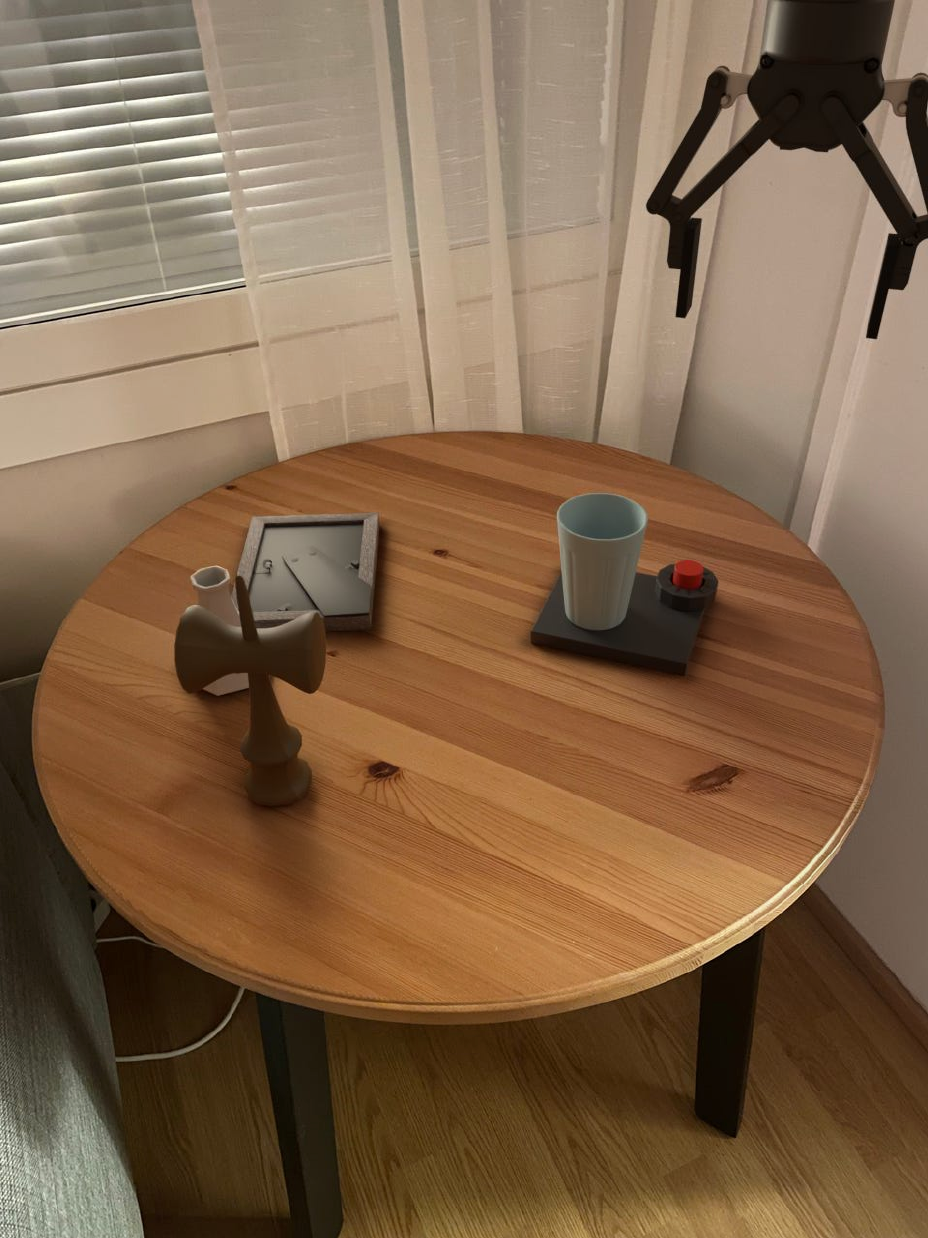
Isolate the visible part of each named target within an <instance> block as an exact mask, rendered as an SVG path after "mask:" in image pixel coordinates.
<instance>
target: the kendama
mask: <svg viewBox="0 0 928 1238" xmlns="http://www.w3.org/2000/svg"><path fill="white" fill-rule="evenodd" d="M234 583H235V588H236V596H237V603H238V610H239V616H240V622H241V627H235V626H232V625H230V624H228V623H226V622H224V621H223V620H221V619H220V618H218V617H217V616H215V615H214V614H212V613H211V612H209V611H208V610H206V609H205V608H203V607H201V606H199V605H198V604H193V605H189V606H188V607H186V609H185V611H184V612H183V614H181V616H180V618H179V621H178V624H177V627H176V629H175V638H174V644H173V645H174V646H173V648H174V649H173V657H174V658H173V660H174V667H175V674H176V677H177V679H178V682H179V684H180V686H181V688H182V690H184V692H186V693H187V694H190V695H193V694H195V693H198V692H199V691H201V690H204V689H203V688H204V687H206V686H208V685H209V684H211V683H213V682H215V681H216V680H218V679H220V678H222V677H224V676H226V675H229V674H234V673H236V674H240V673H248V682H249V688H248V694H249V695H248V696H249V697H248V698H249V730H248V731H247V732H245V734H244V736H243V738H242V739H241V741H240V747H239V751H240V754H241V756H242V757H243V759H244V760H245V761H246V762H248V763H249V764H250V768H249V770H248V772H247V773H246V775H245V779H244V790H245V792H246V795H247V797H248V799H250V800H251V801H252V802H255V803H256V804H258V805H262V806H266V807H267V806H269V807H279V806H288V805H290V804H292V803H295V802H298V801H299V800H300V799H301V798H303V797H304V796H305V795H306V794H307V793H308V792H309V789H310V788H311V785H312V782H313V779H312V778H313V770H312V769H311V766H310V764H309V763H308V762H307V761H306V760H305V759H302V758H300V757H299V756H298V754H299V752H300V750H301V748H302V746H303V736H302V734H301V732H300V730H299V728H297V727H296V726H293V725H291V724H289V723H288V722H287V720H286V718H285V716H284V714H283V711H282V709H281V706H280V704H279V701H278V699H277V696H276V694H275V690H274V687H273V685H272V682H271V678H270V677H274V678H276V679H279V680H281V681H283V682H285V683H287V684H288V685H290V686H292V687H294V688H296V689H297V690H299V691H301V692H303V693H305V694H308V695H311V694H315V693H316V692H317V691H318V690H319V688H320V687H321V684H322V682H323V680H324V673H325V670H326V669H325V668H326V659H327V637H326V631H325V628H324V624H323V620H322V618H321V617H320V615H319V613H318V612H316V611H312V612H309V613H306V614H304V615H302V616H300V617H298V618H296V619H294V620H292V621H290V622H288V623H285V624H283V625H281V626H277V627H273V628H262V629H258V628H256V624H255V620H254V616H253V612H252V607H251V603H250V599H249V595H248V591H247V587H246V584H245V581H244V579H243V577H242V576H241V575H237V574H236V575H235V579H234Z"/></svg>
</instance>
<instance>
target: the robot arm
mask: <svg viewBox="0 0 928 1238" xmlns="http://www.w3.org/2000/svg"><path fill="white" fill-rule="evenodd" d="M895 3H896V0H767V1H766V8H765V16H764V23H763V29H762V30H763V31H762V37H761V44H760V52H759V58H758V59H759V60H758V63H757V66H756V68H755V71H754V72H753V74H748V73H741V72H735V71H731V70H730V69H729V67H728V66H726V65H719V66H717V67H716V68H715V69H714V70H713V71H712V72H711V74H709V75H708V77H707V79H706V82H705V87H704V90H703V91H704V92H703V95H702V101H701V104H700V109H699V110H698V113H697V114H696V116H695V117H694V120H693V121H692V123H691V124H690V126H689V128H688V130H687V131H686V133H685V135H684V137H683V138H682V140H681V141H680V144H679V145H678V147H677V149H675V152H674V154H673V155H672V157H671V159H670V161H669V162H668V164H667V166H666V168H665V170H664V171H663V173H662V174H661V177H660V179H659V180H658V182H657V183H656V185H655V187H654V189H653V191H652V192H651V194H650V195H649V197H648V199H647V201H646V203H645V209H646V211H647V212H648V213H649V214H650V215H654V216H655V215H658V216H659V217H662V218H664V219H665V220H666V221H667V222H668V223H669V234H668V235H669V236H668V244H667V255H666V264H667V267H668V269H671V270H679V277H678V278H679V279H678V286H677V287H678V288H677V297H676V306H675V316H674V318H677V319H686V317H687V316H688V314H689V312H690V310H691V309H692V306H693V299H694V290H695V282H696V273H697V267H698V266H697V263H698V257H699V256H698V255H699V248H700V241H701V240H700V239H701V231H702V223H703V222H702V221H703V218H702V217H693V215H695V213H697V212H698V210H700V208H702V207H703V206H704V205H705V203H706V202H707V201H708V200H710V198H711V197H712V196H713V195H715V193H716V192H718V191H719V189H720V188H721V187H722V186H723V185H724V184H725V183H726V182H727V181H728V180H729V179H730V178H731V177H732V176H733V175H734V174H735V173H737V171H738V170H739V169H740V168H742V166H743V165H744V164H745V163H746V162H747V161H748V160H749V159H750V158H751V157H752V156H754V155H755V154H756V153H757V152H758V151H759V150H760V149H761V148H762V147H763V146H764V145H765V144H766V143H767V142H768V141H770V142H771V143H772V144H773V145H774V146H776V147H778V148H779V151H794V150H801V149H807V150H810V151H812V152H815V153H829V151H832V150H835V149H837V148H838V147H840V146H842V147H843V149H844V150H845V152H846V154H847V156H848V157H849V158H850V160H851V162H853V163H854V164H855V166H856V168H857V170H858V171H859V173H860V175H861V176H862V179H864V181H865V183H866V185H867V186H868V188H869V190H870V192H871V193H872V194H873V196H874V198H875V199H876V201H877V203H878V204H879V206H880V207H881V208H880V209H882V211H883V213H884V214H885V216H886V218H887V220H888V221H889V223H890V224H891V226H892V228H893V229H894V231H895V233H891V232H890V233H888V235H887V240H886V243H885V248H884V252H883V256H882V261H881V265H880V269H879V274H878V278H877V282H876V286H875V292H874V296H873V300H872V304H871V309H870V313H869V316H868V317H869V318H868V322H867V328H866V333H865V339H870V340H877V339H878V337H879V333H880V328H881V324H882V319H883V315H884V312H885V308H886V302H887V299H888V294H889V290H894V291H895V290H897V291H904V290H905V289H906V287H907V286H908V284H909V281H910V277H911V272H912V268H913V265H914V260H915V257H916V252H917V249H918V247H919V245H920V244H921V243H922V242H923V241H925V240H928V74H927V73H926V72H917V73H915V74H914V75H913V76H912V77H909V78H908V77H906V78H895V79H894V78H893V79H885V78H884V74H883V61H884V56H885V52H886V47H887V42H888V36H889V32H890V26H891V22H892V18H893V11H894V7H895ZM742 95H747V99H748V101H749V103H750V105H751V107H752V109H753V111H754V113H755V115H756V116H757V117H756V118H758V119H757V120H756V121H755V122H754V124H753V125H752V126H751V127H750V128H749V129H748V130H747V131H745V133H744V134H743V135H742V137H740V139H738V140H737V141H736V143H734V145H733V146H732V147H731V148H729V150H728V151H727V152H726V153H725V154H724V155H723V156H721V158H720V159H719V160H718V161H717V162H716V163H715V164H714V165H713V166H711V168H710V169H709V170H708V171H707V172H706V174H704V175H703V176H702V178H701V179H699V181H697V182H696V184H695V185H694V186H693V187H692V188H690V190H689V191H688V192H687V193H686V194H685V195H684V196H683V197H682V198H680V197H677V196H675V195H673V194H674V192H675V191H676V189H677V187H678V185H679V184H680V182H681V180H682V179H683V177H684V175H685V173H686V172H687V170H688V168H689V167H690V165H691V164H692V162H693V160H694V158H695V157H696V155H697V154H698V152H699V150H700V148H701V146H702V144H703V143H704V142H705V140H706V138H707V137H708V135H709V134H710V131H711V130H712V128H713V126H714V125H715V122H716V121H717V120H718V118H719V116H720V114H721V112H722V111H723V109H724V110H727V109H730V108H731V107H733V106H734V104H735V103H736V101H737V99H738V98H739V97H740V96H742ZM883 101H886V102H889V103H890V104H891V106H892V111H893V114H894V115H895V116H896V117H899V118H905V129H906V135H907V139H908V142H909V143H908V144H909V147H910V151H911V154H912V159H913V162H914V166H915V170H916V174H917V178H918V182H919V187H920V189H921V194H922V198H923V202H924V206H925V210H926V214H922V215H917V213H916V211H915V210H914V207H913V206H912V204H911V202H910V201H909V199H908V198H907V196H906V194H905V193H904V191H903V189H902V187H901V186H900V184H899V182H898V181H897V179H896V177H895V176H894V174H893V173H892V170H891V169H890V167H889V165H888V164H887V162H886V160H885V159H884V156H883V155H882V154H881V152H880V150H879V149H878V147H877V145H876V143H875V142H874V139H873V136H872V135H871V132H870V131H869V129H868V128H867V126H866V124H865V120H866V119H867V118H868V117H869V116H870V115H871V114H872V113H873V112H874V110H876V109H877V108H878V106H879V105H880V104H881V102H883Z"/></svg>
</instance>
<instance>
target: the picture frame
mask: <svg viewBox="0 0 928 1238" xmlns="http://www.w3.org/2000/svg"><path fill="white" fill-rule="evenodd" d="M379 535H380V516H379V512H352V513H349V512H348V513H322V514H293V515H291V514H290V515H288V514H287V515H263V516H262V515H261V516H257V515H256V516H251V520H250V524H249V529H248V531H247V535H246V539H245V543H244V547H243V550H242V554H241V557H240V561H239V565H238V569H237V572H236V576H237V575H241V576H242V577H243V579H244V581H245V584H246V587H247V591H248V595H249V599H250V603H251V607H252V612H253V616H254V620H255V624H256V628H258V629H262V628H273V627H277V626H281V625H283V624H285V623H288V622H290V621H292V620H294V619H296V618H298V617H300V616H302V615H304V614H306V613H309V612H312V611H316V612H318V613H319V615H320V617H321V618H322V620H323V624H324V628H325V632H346V631H347V632H348V631H349V632H351V631H372V623H373V610H374V600H375V599H374V597H375V584H376V575H377V574H376V573H377V560H378V549H379V537H380V536H379ZM230 595H231V598H232V600H233V602H234V605H235V607H236V608H237V610H238V603H237V596H236V588H235V582H234V584H233V587H232V591H231V593H230ZM238 611H239V610H238Z"/></svg>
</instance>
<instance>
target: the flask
mask: <svg viewBox="0 0 928 1238" xmlns="http://www.w3.org/2000/svg"><path fill="white" fill-rule="evenodd" d="M190 581H191V584H192V587H193V589H194V590H195V591H196V592H197V605H199V606H201V607H203V608H205V609H206V610H208V611H209V612H211V613H212V614H214V615H215V616H217V617H218V618H220V619H221V620H223V621H224V622H226V623H228V624H230V625H232V626H235V627H241V622H240V616H239V611H238V610H237V608H236V607H235V605H234V602H233V600H232V598H231V592H230V587H229V586H230V584H231V583H232V579H231V576H230V573H229V570H228V569H226V568H224V567H221V566H218V565H212V566H208V567H203V568H200V569H199V570H197V571H195V573H193V574H192V575H190ZM245 689H249V682H248V673H240V674H236V673H234V674H229V675H226V676H224V677H222V678H220V679H218V680H216V681H215V682H213V683H211V684H209V685H208V686H206V687H204V688H203V689H202V690H203V691H206V692H208V693H210V694H213V695H215V696H217V697H218V696H222V695H225V694H226V695H227V694H230V693H234V692H238V691H241V690H245Z"/></svg>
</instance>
